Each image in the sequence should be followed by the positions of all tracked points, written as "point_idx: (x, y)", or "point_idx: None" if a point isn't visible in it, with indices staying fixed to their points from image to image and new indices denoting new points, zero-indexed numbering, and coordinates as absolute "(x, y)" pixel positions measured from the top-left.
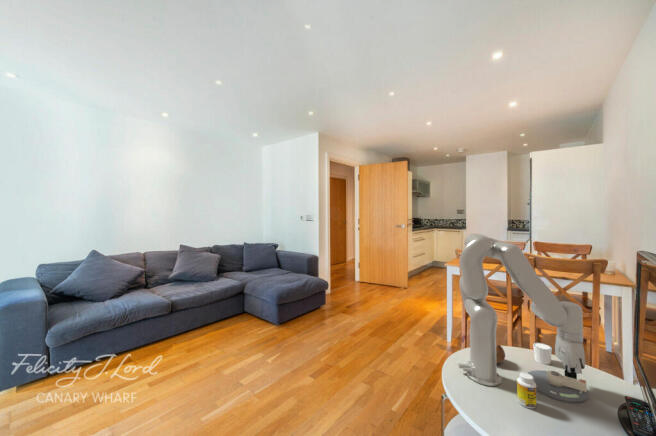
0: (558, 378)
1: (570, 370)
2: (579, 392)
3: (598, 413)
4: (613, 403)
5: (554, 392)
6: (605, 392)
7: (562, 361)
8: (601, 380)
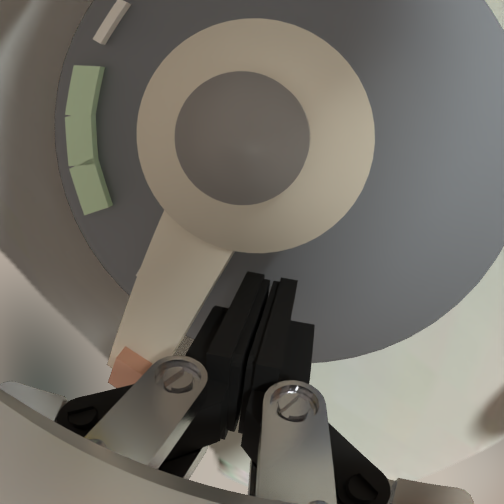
0: (144, 125)
1: (135, 395)
2: None
3: (29, 227)
4: None
5: (104, 28)
6: (238, 426)
7: (132, 495)
8: None
